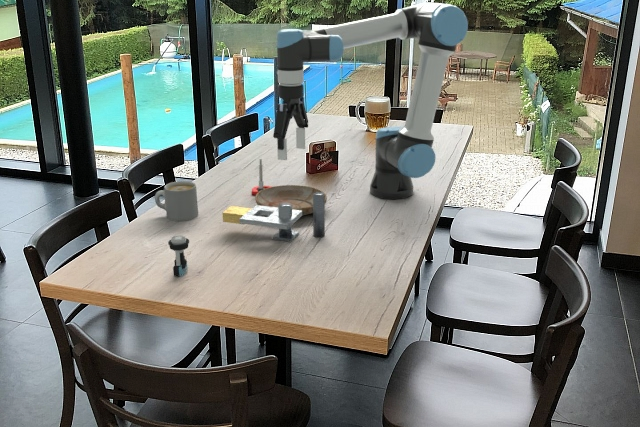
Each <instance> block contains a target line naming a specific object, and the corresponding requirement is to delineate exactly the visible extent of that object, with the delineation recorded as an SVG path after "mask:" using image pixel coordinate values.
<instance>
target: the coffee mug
mask: <svg viewBox="0 0 640 427" xmlns="http://www.w3.org/2000/svg"><path fill="white" fill-rule="evenodd" d="M197 193H198V192H197V184H196V183H194V182H193V181H192V182H191V181H186V180H185V181H184V180H181V181H174V182H173V181H171V182H169V183H166V185H164V187H163V190H158V191H156V192H155V195H154V200H155V201H154V202H155V205H156V206H157V207H158V208H160V209H162V210H164V211H165V212H166V218H167V219H168V220H170V221H175V222H186V221H190V220H194V219H195V218H197V217H198V216H199V206H198V195H197ZM160 196H162V197H163V198H164V203H162V202H161V200H160Z"/></svg>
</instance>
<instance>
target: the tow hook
mask: <svg viewBox="0 0 640 427" xmlns="http://www.w3.org/2000/svg"><path fill="white" fill-rule="evenodd" d="M262 160H263V159H262V158H259V165H258V174H259V175H258V177H259V179H258V185H257V186H253V188H251V195H252V196H256V194H257V193H258V192H259V191H261V190H263V189H266V188H269V187H273V186H272V185H264V180H263V178H264V177H263V176H264V175H263V169H264V168H263V161H262Z"/></svg>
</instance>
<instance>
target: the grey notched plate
mask: <svg viewBox="0 0 640 427" xmlns="http://www.w3.org/2000/svg"><path fill="white" fill-rule="evenodd" d="M302 216H303V215H302V210H294V209H292V204H291V203H280V204H278V208H276V207H268V206H259V205H257V204H256V205H255V206H253V207H243V206H236V205H234V206H233V205H230V207H228V208H226V209H225V210H224V211H222V223H230V224H236V225H237V224H238V225H249V226H257V227H265V228H271V229H273V228H274V229H278V231H277V232H276V233H275V234H274V235H272V240H277V241H283V242H284V241H285V242H291V243H292V242H293V241H294V240H295V239H296V238H297V237H298V236H299V235H300V231H295V230H293V225H294V224H295V223H296V222H297V221H298V220H299V219H300V218H301V217H302Z"/></svg>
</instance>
